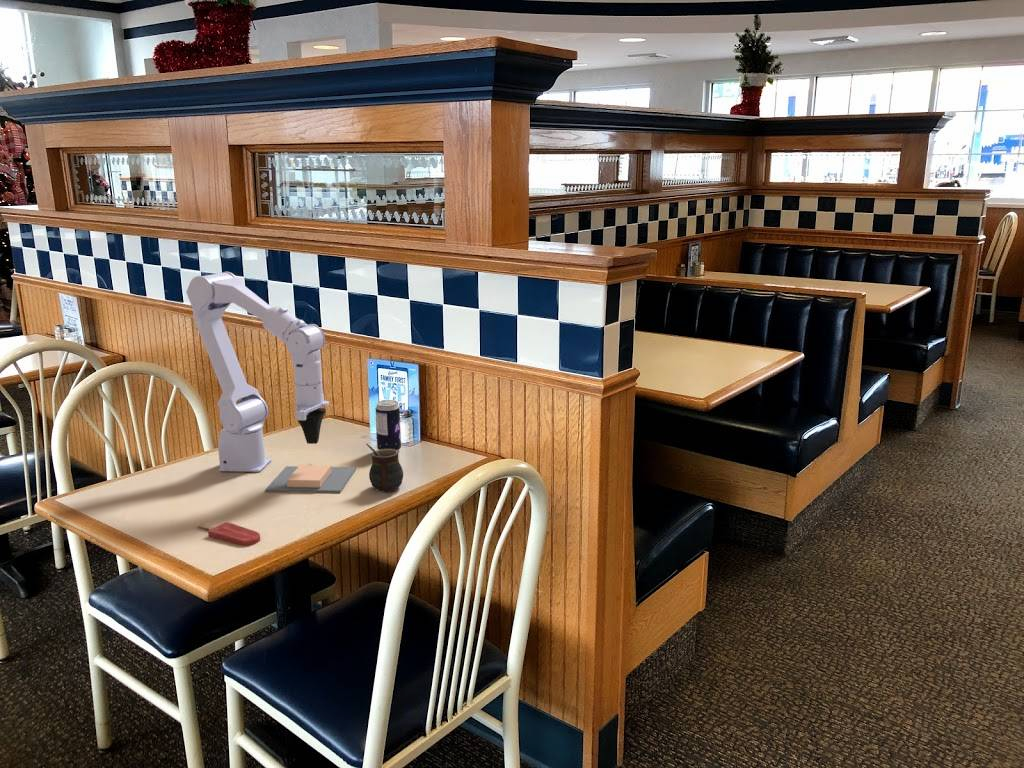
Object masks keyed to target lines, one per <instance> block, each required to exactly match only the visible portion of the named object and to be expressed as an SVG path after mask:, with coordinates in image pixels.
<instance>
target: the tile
mask: <svg viewBox="0 0 1024 768" xmlns="http://www.w3.org/2000/svg"><path fill="white" fill-rule="evenodd" d="M331 467H332V465H321V464H319V465H318V464H317V465H315V464H313V465H312V464H311V465H310V464H308V465H307V464H299V467H298V468H297V469H296V470H295V471H294V472H293V474H292V475H291V476H290V477H289V478H288V479H287V487H297V488H320V487H321V486H322V484H323V483H324V482H325V481H326V479H327V478H328V477H329V475H330V474H331V473H332V470H331Z"/></svg>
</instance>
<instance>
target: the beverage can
mask: <svg viewBox="0 0 1024 768" xmlns="http://www.w3.org/2000/svg"><path fill="white" fill-rule="evenodd" d="M400 408H401V407H400V405H399V404H398V401H396V400H393V399H392V400H391V399H387V400H380V401H378V402H377V403H376V407H375V408H374V409H375V426H376V427H375V428H376V447H377V450H381V449H394V450H397V451H398V452H399V450H400V449H401V448H402V435H401V433H402V432H401V411H400Z"/></svg>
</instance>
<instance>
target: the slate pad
mask: <svg viewBox="0 0 1024 768" xmlns="http://www.w3.org/2000/svg"><path fill="white" fill-rule="evenodd" d="M299 466H300V465H299ZM299 466H291V465H290V466H285V467H284V468H283V469H282V470H281V472H280V473H278V475H276V477H275V478H274V479H273V480H272V481H271V482H270V483H269V485H267V486H266V488H264V489H265V490H264V491H265V492H267V493H268V492H269V493H270V492H271V493H320V494H321V493H324V494H325V493H326V494H327V493H331V494H338V493H339V494H341V493H342V492H343V490H344V489H345V487H346V485H347V484H348V483H349V481H350V479H351V478H352V477H353V476H354V473H355V472H356V471H357V467H356V466H355V467H354V466H352V467H351V466H331V470H332V473H331V474H330V475H329V477H328V478H327V479H326V481H325V482H324V483H323V484H322V486H321V487H320V488H297V487H287V479H288V478H289V477H290V476H291V475H292V474H293V472H294V471H295V470H296V469H297V468H298V467H299Z"/></svg>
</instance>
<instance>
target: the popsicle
mask: <svg viewBox="0 0 1024 768" xmlns="http://www.w3.org/2000/svg"><path fill="white" fill-rule="evenodd" d="M197 526H198V527H200V528H204V529H207V532H208V533H207V534H208V537H209V538H211V539H216V540H219V541H221V542H223V541H224V542H227V543H230V544H234V545H236V546H237V545H238V546H243V547H245V546H246V547H248V546H252V545H256V544H257V543H259V542H260V541H261V535H260V532H258V531H255V530H253V529H250V528H247V527H244V526H240V525H238V524H235V523H232V522H229V521H226V522H223V523H221V524H219V525H216V526H212V525H209V524H205V523H204V522H203V523H198V524H197Z"/></svg>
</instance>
